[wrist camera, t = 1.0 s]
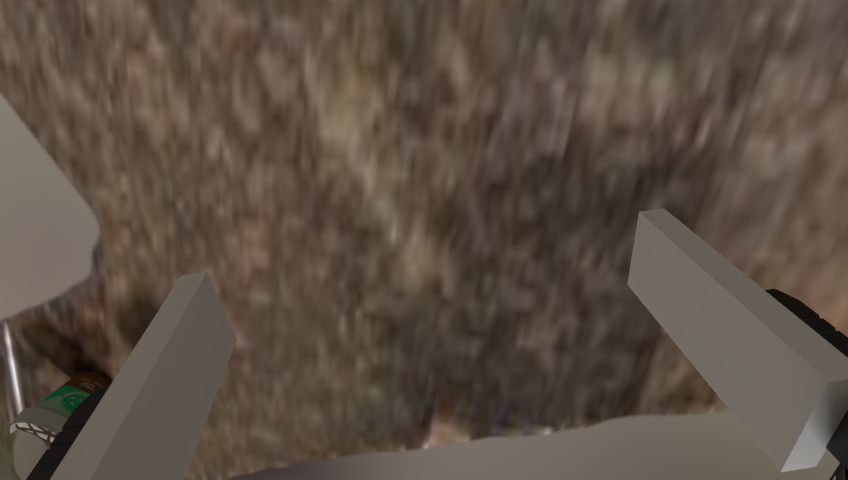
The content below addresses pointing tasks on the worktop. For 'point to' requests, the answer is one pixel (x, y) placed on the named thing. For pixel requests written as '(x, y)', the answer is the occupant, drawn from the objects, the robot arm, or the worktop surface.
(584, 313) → the worktop surface
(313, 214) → the worktop surface
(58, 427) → the food container
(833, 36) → the worktop surface
